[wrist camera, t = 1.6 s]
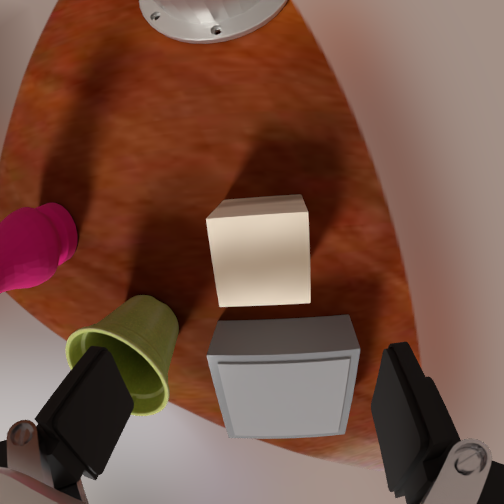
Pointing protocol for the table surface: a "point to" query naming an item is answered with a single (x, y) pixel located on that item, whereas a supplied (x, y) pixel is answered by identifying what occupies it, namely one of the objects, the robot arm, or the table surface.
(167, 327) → the plant pot
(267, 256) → the birch block
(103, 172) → the table surface
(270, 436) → the slate stand
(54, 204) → the pepper mill
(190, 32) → the robot arm
